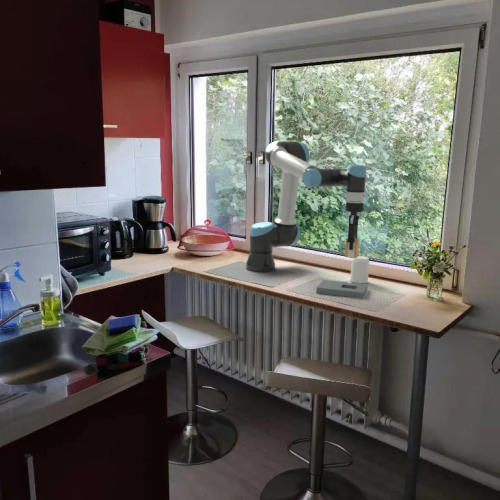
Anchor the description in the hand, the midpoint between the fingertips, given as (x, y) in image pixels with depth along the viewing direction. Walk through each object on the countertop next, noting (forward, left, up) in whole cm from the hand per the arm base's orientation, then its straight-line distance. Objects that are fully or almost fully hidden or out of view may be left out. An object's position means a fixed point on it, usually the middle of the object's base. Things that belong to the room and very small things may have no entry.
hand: (351, 256), depth 216 cm
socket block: (-3, 0, -16) cm, 17 cm away
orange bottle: (0, 0, 0) cm, 0 cm away
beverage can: (+2, +19, -17) cm, 25 cm away
